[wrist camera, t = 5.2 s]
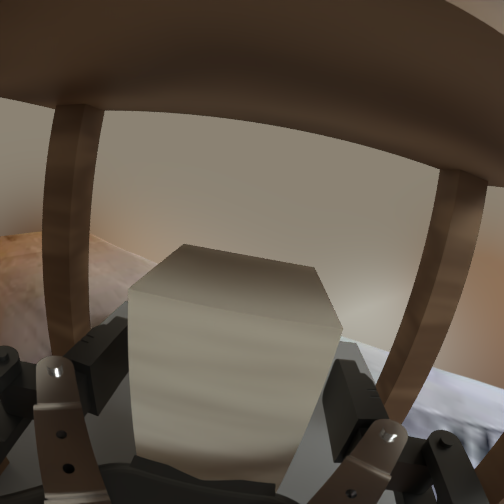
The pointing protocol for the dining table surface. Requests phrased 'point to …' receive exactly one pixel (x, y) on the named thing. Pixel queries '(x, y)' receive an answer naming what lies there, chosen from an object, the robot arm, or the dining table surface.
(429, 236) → the shelter
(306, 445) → the slotted grey base plate
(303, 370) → the block
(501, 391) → the dining table surface
